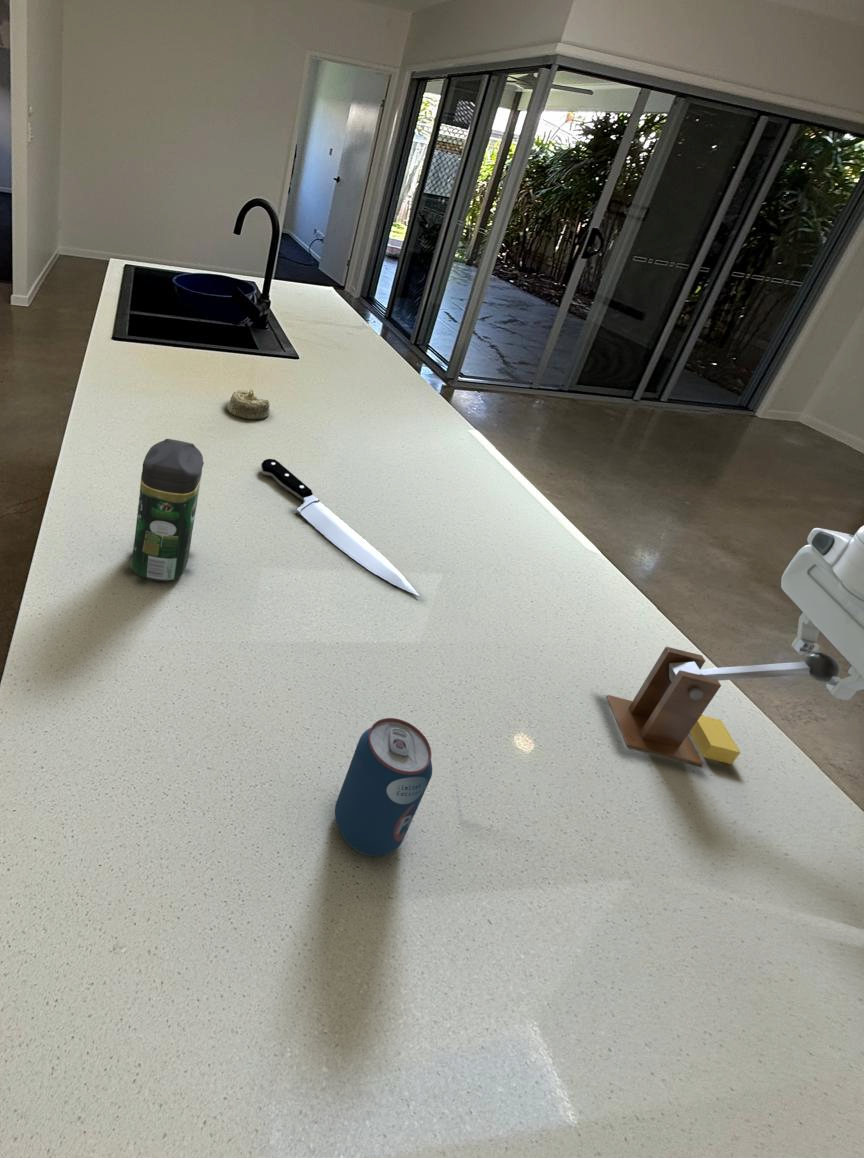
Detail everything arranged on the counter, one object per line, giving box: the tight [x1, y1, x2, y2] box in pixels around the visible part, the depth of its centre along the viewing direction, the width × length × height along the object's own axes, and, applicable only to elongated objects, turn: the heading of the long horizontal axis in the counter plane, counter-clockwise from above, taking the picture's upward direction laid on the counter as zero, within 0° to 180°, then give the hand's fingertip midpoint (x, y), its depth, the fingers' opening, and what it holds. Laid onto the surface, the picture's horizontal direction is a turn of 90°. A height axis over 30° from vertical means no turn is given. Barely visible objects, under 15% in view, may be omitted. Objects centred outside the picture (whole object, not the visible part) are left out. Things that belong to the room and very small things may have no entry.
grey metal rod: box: [669, 651, 841, 683], centre depth 77 cm, size 17×3×3 cm, turn 81°
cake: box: [226, 389, 271, 420], centre depth 149 cm, size 10×10×5 cm
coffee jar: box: [130, 438, 205, 583], centre depth 91 cm, size 10×8×19 cm
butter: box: [689, 714, 741, 765], centre depth 82 cm, size 4×5×3 cm
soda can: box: [334, 717, 433, 857], centre depth 61 cm, size 7×7×12 cm
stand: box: [605, 646, 722, 766], centre depth 80 cm, size 9×8×12 cm
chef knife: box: [260, 458, 420, 597], centre depth 112 cm, size 5×41×2 cm, turn 36°
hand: (817, 672), depth 75 cm, fingers open, 5 cm apart
